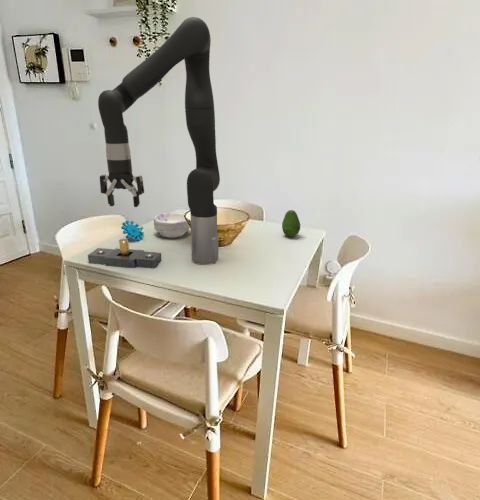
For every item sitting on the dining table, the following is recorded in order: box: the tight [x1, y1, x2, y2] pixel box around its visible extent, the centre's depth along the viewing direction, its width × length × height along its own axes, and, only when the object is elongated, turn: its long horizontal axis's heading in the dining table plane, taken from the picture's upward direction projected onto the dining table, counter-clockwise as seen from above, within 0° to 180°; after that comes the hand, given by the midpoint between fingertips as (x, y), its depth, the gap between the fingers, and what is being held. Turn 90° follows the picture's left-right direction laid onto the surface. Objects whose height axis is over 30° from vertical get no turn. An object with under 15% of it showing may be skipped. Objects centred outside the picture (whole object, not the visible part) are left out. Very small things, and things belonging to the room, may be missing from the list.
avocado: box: [281, 209, 301, 238], centre depth 154 cm, size 8×8×12 cm
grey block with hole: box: [87, 247, 162, 269], centre depth 126 cm, size 24×9×4 cm, turn 82°
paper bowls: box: [153, 212, 191, 239], centre depth 154 cm, size 15×15×8 cm
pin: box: [118, 238, 130, 257], centre depth 125 cm, size 3×3×8 cm
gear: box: [120, 219, 145, 242], centre depth 149 cm, size 11×6×10 cm
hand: (124, 206), depth 122 cm, fingers open, 8 cm apart
